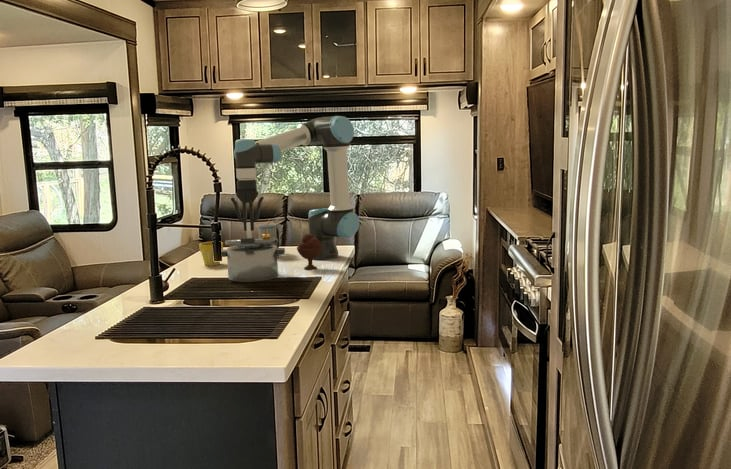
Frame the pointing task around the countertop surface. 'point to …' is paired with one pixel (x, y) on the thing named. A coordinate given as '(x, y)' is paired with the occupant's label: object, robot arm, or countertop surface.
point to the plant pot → (208, 253)
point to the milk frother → (269, 232)
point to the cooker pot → (252, 262)
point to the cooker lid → (252, 241)
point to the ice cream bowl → (309, 249)
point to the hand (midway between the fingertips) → (249, 238)
